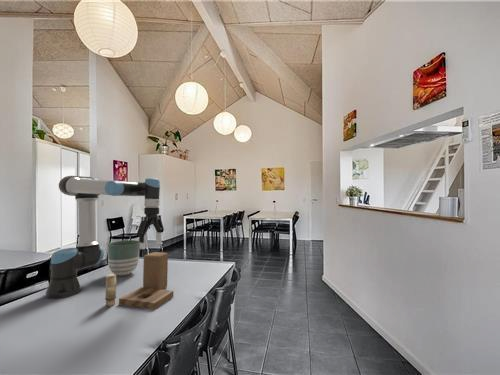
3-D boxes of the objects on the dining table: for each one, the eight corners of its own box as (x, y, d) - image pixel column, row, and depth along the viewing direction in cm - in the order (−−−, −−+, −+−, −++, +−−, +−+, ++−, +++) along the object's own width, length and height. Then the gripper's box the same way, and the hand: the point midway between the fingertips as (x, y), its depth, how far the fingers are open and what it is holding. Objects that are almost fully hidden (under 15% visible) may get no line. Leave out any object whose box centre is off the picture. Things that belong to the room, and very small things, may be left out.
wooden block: (158, 293, 138) (159, 256, 139) (142, 291, 140) (142, 255, 141) (167, 286, 148) (168, 252, 149) (152, 285, 150) (153, 251, 151)
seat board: (118, 304, 123) (118, 298, 123) (141, 292, 138) (141, 287, 138) (154, 309, 118) (154, 302, 118) (173, 296, 133) (173, 290, 133)
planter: (145, 273, 174) (146, 241, 175) (117, 281, 158) (118, 246, 159) (128, 268, 185) (129, 239, 186) (100, 275, 168) (101, 243, 169)
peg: (102, 306, 121) (103, 276, 122) (110, 302, 126) (111, 273, 126) (110, 307, 120) (111, 277, 121) (117, 303, 125) (118, 274, 125)
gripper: (142, 208, 124) (141, 251, 123) (170, 206, 148) (169, 242, 147) (129, 207, 126) (128, 250, 125) (159, 206, 150) (158, 242, 149)
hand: (150, 246), depth 136 cm, fingers open, 13 cm apart
